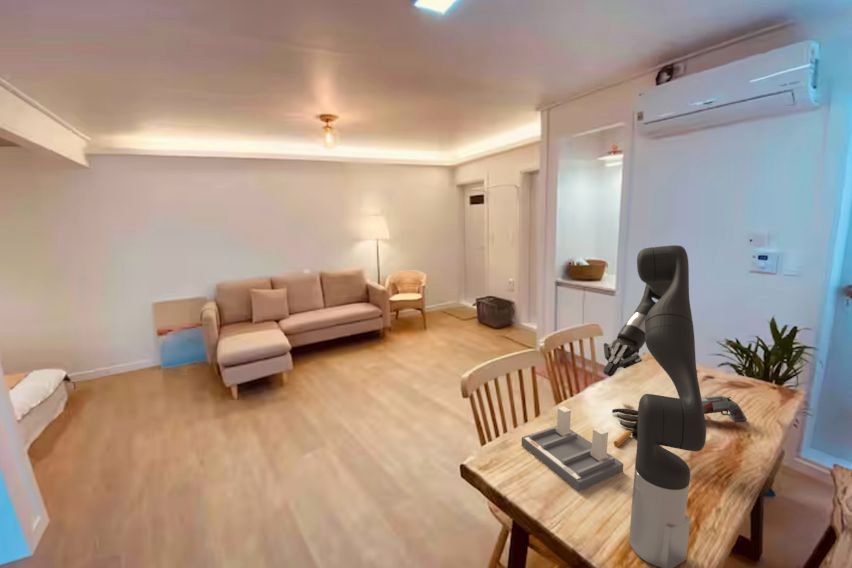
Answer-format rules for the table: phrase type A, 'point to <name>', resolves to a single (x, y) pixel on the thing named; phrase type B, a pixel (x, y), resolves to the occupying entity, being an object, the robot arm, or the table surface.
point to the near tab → (599, 444)
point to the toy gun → (723, 407)
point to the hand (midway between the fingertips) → (606, 374)
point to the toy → (627, 424)
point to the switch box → (571, 457)
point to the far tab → (563, 421)
